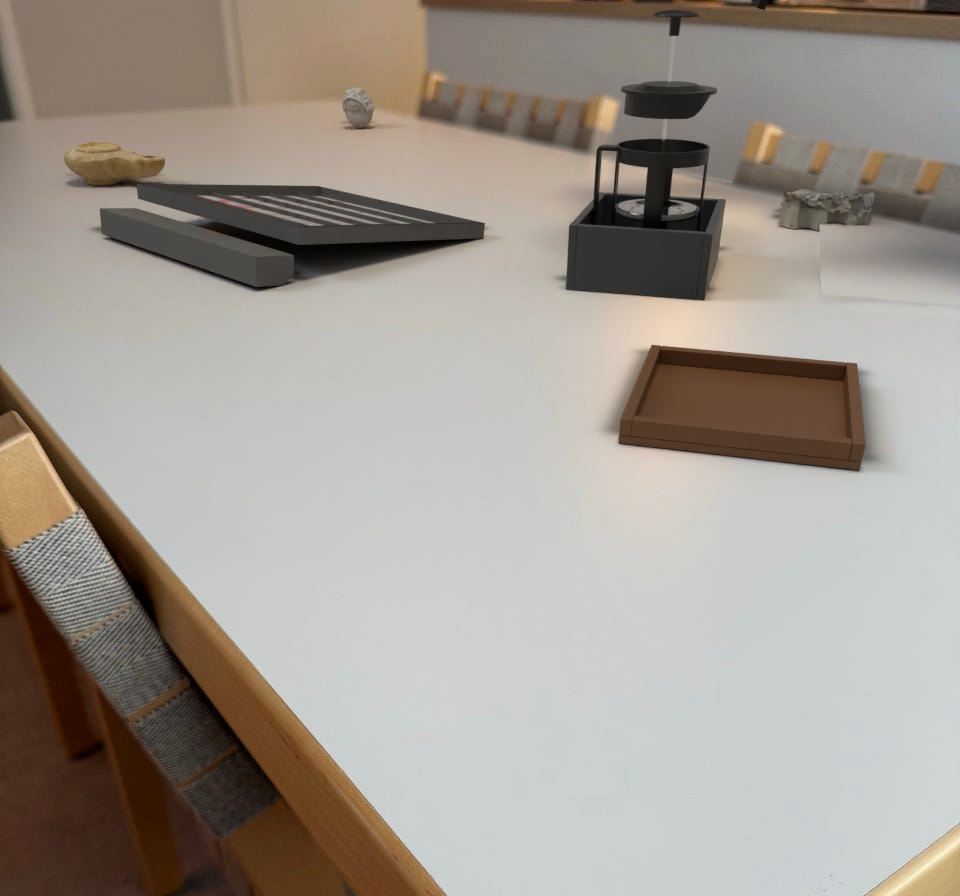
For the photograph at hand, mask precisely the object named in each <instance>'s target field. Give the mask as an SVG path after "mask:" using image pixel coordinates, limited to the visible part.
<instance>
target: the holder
mask: <svg viewBox="0 0 960 896" xmlns="http://www.w3.org/2000/svg"><path fill="white" fill-rule="evenodd" d="M700 198H701V197H695V196H693V197H692V196H676V195H670V200H676V201H682V202H687V203H691V204H694V205H696V206H698V207H699V206H700ZM636 199H645V194H642V193H641V194H638V193H623V192H620V193H619V192H617V203H616V204H618V203H620V202H623V201H628V200H636ZM726 201H727V199H726V198H712V197H704V199H703V207H702V215H701V223H700V231H696V230H697V222H698V214H699V211H698V212H697V217H695V218H693V219H690V220H685V221H678V222H667V229H651V228H642V224H643V221H637V220H632V219H627V218H624V217H621V216H619V215H618V214H616V216H615V226H611V218H612V205H613V192H604V191H603V192H602V191H599V205H598V220H597V225H592V213H593V199H592V200H591V201H590V202H589V203H588V204H587V205H586V207H585V208H584V209H582V211H581V212H580V213H579V214H578V215H577V216H576V217H575V218H574V219H573V221H572V222H570V224H569V225H568V238H567V239H568V241H567V259H566V278H565V289H566V290H571V291H572V290H574V291H583V292H584V291H585V292H595V293H596V292H598V293H608V292H609V293H610V294H621V293H624V294H623V295H633V294H636V295H635V296H646V295H649V297H659V296H662V297H661V298H671V297H674V298H673V299H684V298H687V299H686V300H697V299H700V300H701V301H704V300H705V298H706V296H707V292H708V289H709V287H710V285H711V284H710V283H711V280H712V277H713V274H714V271H715V268H716V264H717V261H718V259H719V253H720V245H721V238H722V230H723V224H724V217H725V208H726ZM616 210H617V209H616Z"/></svg>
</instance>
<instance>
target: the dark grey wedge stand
mask: <svg viewBox="0 0 960 896" xmlns="http://www.w3.org/2000/svg"><path fill="white" fill-rule="evenodd" d="M136 190H137V192H136V193H137V199H138V200H141V201H144V202H148V203H152V204H155V205H158V206H161V207H165V208H169V209H171V210H176V211H179V212H182V213H186V214H190V215H193V216H197V217H200V218H204V219H207V220H211V221H213V222H214V221H215V222H217V223H221V224H225V225H227V226H231V227H235V228H239V229H243V230H245V231H250V232H253V233H256V234H260V235H263V236H265V237H269V238H270V237H271V238H273V239H278V240H281V241H284V242H288V243H292V244H294V245H298V246H309V245H332V244H333V245H334V244H336V245H337V244H360V243H361V244H362V243H363V244H364V243H387V242H388V243H390V242H413V241H416V242H417V241H418V242H419V241H441V240H442V241H443V240H444V241H445V240H469V239H470V240H471V239H473V240H474V239H484V238H485V227H486V222H482V221H477V220H473V219H469V218H464V217H459V216H455V215H451V214H446V213H442V212H438V211H437V212H436V211H434V210H433V211H432V210H426V209H424V208H419V207H414V206H411V205H410V206H409V205H406V204H401V203H398V202H393V201H387V200H382V199H379V198H374V197H370V196H365V195H361V194H357V193H352V192H346V191H344V190H339V189H334V188H329V187H326V186H325V187H324V186H320V185H283V184H282V185H277V184H276V185H275V184H274V185H273V184H271V185H270V184H268V185H267V184H201V183H200V184H199V183H198V184H196V183H194V184H192V183H190V184H189V183H186V184H185V183H136ZM99 219H100V229H101V235H103V236H106V237H109V238H112V239H115V240H118V241H121V242H124V243H127V244H130V245H133V246H135V247H138V248H141V249H144V250H147V251H150V252H153V253H155V254H159V255H162V256H165V257H168V258H170V259H174V260H177V261H179V262H182V263H185V264H189V265H191V266H194V267H197V268H200V269H203V270H206V271H209V272H212V273H214V274H217V275H220V276H224V277H226V278H229V279H231V280H235V281H238V282H240V283H244V284H246V285H250V286H252V287H256V288H257V287H258V288H260V287H274V286H284V285H285V284H286V283H287V282H288V281H289V280H290V279H291V278H292V277H294V275H295V255H294V254H291V253H288V252H286V251H281V250H278V249H275V248H272V247H268V246H265V245H262V244H258V243H254V242H252V241H248V240H245V239H241V238H238V237H235V236H231V235H228V234H224V233H221V232H217V231H214V230H211V229H208V228H204V227H201V226H198V225H194V224H190V223H188V222H184V221H181V220H178V219H173V218H171V217H168V216H164V215H161V214H157V213H153V212H151V211H147V210H145V209H144V210H143V209H141V208H138V207H108V208H107V207H100V208H99Z"/></svg>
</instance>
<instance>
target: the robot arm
mask: <svg viewBox="0 0 960 896" xmlns="http://www.w3.org/2000/svg"><path fill="white" fill-rule="evenodd" d="M751 2H752V3H753V5H754V6H755V7H756V9H758V10H763V11H765V10H766V8H767V5H768V2H769V0H751Z"/></svg>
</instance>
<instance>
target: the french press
mask: <svg viewBox="0 0 960 896" xmlns="http://www.w3.org/2000/svg"><path fill="white" fill-rule="evenodd" d="M652 17H656V18H669V31H668V32H669V33H668V36H669V37H671V41H670V53H669V62H668V63H669V64H668V73H667V80H654V81H652V80H651V81H645V82H641V83H636V84H635V83H633V84H627V85H623V86H621V87H620V92H621V93H623V94H624V95H625V96H624V108H623V109H624V110H623V114H625V116H629V117H634V118H640V119H641V118H642V119H654V120H656V119H657V120H663V125H662V133H661V138H638V139H629V140H624V141H623V140H622V141H620V142H617V143H616V144H604V143H603V144H600V145H599V146H598V147H597V148H596V153H595V169H594V183H593V199H592V200H593V213H592V225H597V220H598V205H599V193H600V188H601V173H602V160H603V159H602V158H603V152H615V165H614V180H613V190H612V191H613V192H612V193H613V205H612V218H611V226H615V216H616V214H618V215H619V216H621V217H624V218H627V219H632V220H637V221H643V224H642V228H651V229H667V222H678V221H685V220H690V219H693V218H695V217H697V212H698V211H699V214H698V222H697V230H696V231H700V223H701V215H702V207H703V199H704V198H705V190H706V181H707V176H708V175H707V173H708V165H709V157H710V150H711V147H710V145H708V144H707V143H704V142H699V141H695V140H689V139H675V138H667V131H668V121H669V120H688V119H691V118H693V117H696V115H698V113H699V112H700V111H702V109H703V108H704V106H705V105H706V103H707V102H708V100H709V99H710V97H711V96H713V95H716V94H717V93H718V88H716V87H713V86H710V85H702V84H698V83H696V82H689V81H677V80H673V69H674V60H675V52H676V51H675V50H676V40H677V37H679V36H680V31H681V26H682V25H681V24H682V18H700V14H699V13H698V12H695V11H692V10H686V9H685V10H684V9H666V10H661V11H657V12H655V13H653V14H652ZM620 164H623V165H627V166H632V167H637V168H647V171H646V172H647V173H646V183H645V193H644V195H645V199H636V200H628V201H623V202H620V203H618V204H616V203H617V193H618V191H619V190H618V188H619V175H620ZM702 166H703V172H702V174H703V175H702V183H701V190H700V197H699V198H700V206H699V207H698V206H696V205H694V204H691V203H687V202H682V201H676V200H670V196H671V193H672V182H673V173H674V169H687V168H689V169H690V168H697V167H702ZM616 209H617V210H616Z"/></svg>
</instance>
